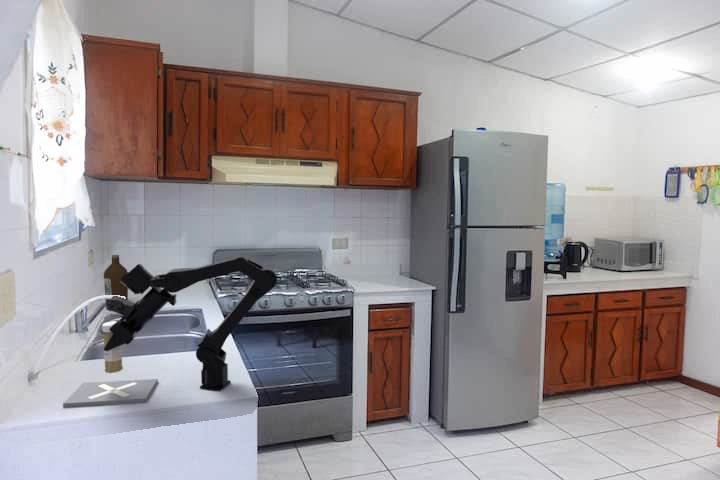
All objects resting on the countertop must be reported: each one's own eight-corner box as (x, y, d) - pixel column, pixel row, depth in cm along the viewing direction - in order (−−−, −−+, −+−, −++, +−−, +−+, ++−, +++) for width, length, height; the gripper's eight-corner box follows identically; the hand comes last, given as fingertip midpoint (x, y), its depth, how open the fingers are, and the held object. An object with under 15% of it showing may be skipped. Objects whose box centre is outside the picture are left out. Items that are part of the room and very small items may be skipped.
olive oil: (123, 303, 245) (122, 253, 242) (132, 306, 237) (131, 255, 235) (101, 306, 237) (99, 255, 235) (109, 310, 230) (107, 257, 227)
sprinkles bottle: (102, 370, 135) (99, 323, 133) (119, 366, 138) (116, 319, 137) (108, 375, 132) (106, 326, 130) (126, 370, 135) (123, 323, 134)
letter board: (157, 382, 143) (157, 378, 143) (146, 402, 129) (145, 398, 129) (83, 386, 139) (83, 382, 139) (63, 407, 126) (62, 403, 126)
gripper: (134, 280, 143) (94, 319, 141) (116, 293, 124) (71, 338, 123) (163, 305, 145) (125, 344, 144) (150, 321, 127) (106, 366, 126)
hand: (107, 347), depth 134 cm, fingers closed on sprinkles bottle, 4 cm apart
